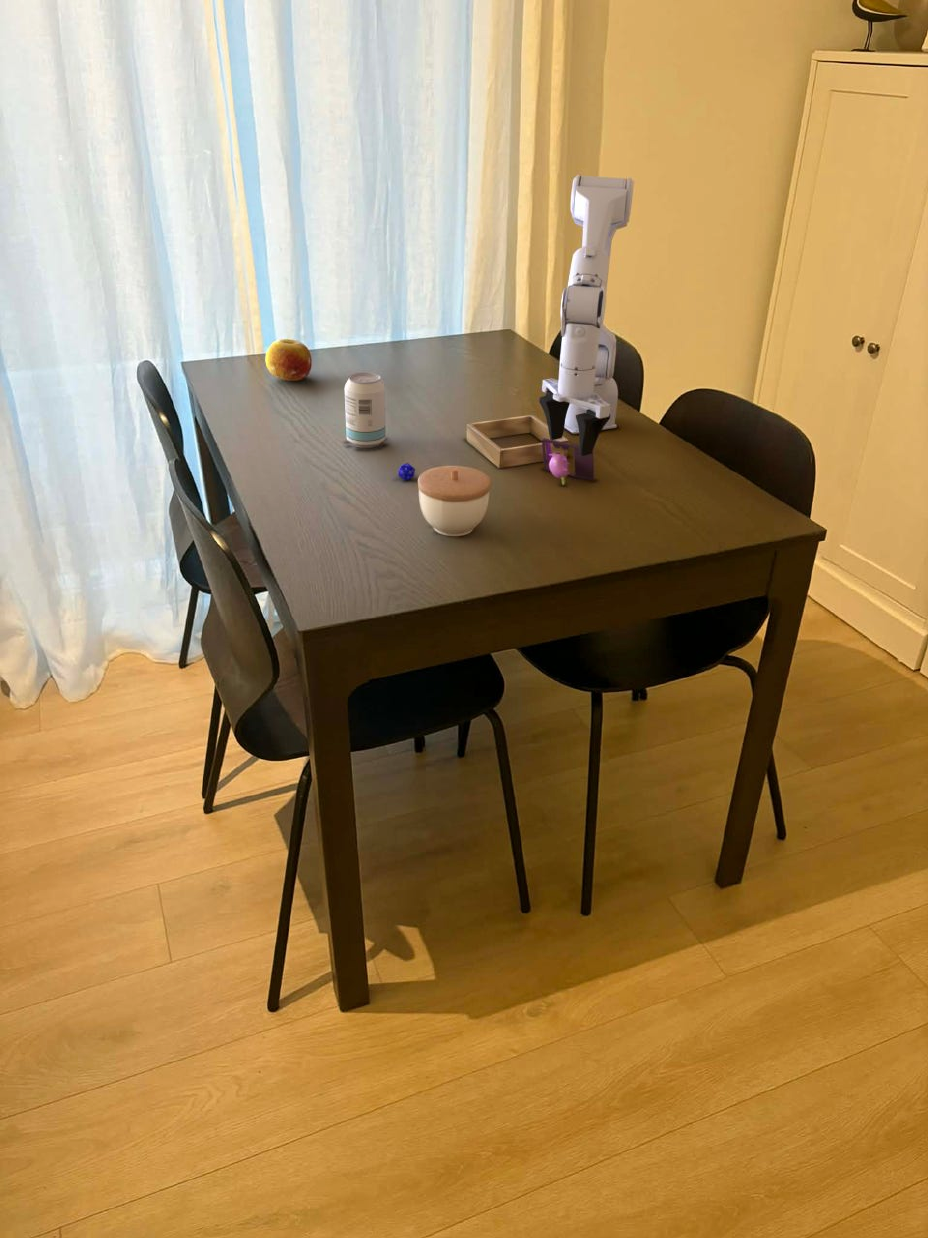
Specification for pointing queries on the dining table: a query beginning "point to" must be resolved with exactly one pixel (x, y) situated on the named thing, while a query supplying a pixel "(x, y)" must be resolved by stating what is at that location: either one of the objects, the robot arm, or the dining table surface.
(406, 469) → the die
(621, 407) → the dining table surface
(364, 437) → the beverage can
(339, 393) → the dining table surface
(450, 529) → the trinket box
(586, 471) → the purple monster figurine
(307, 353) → the fruit
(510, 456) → the birch box
